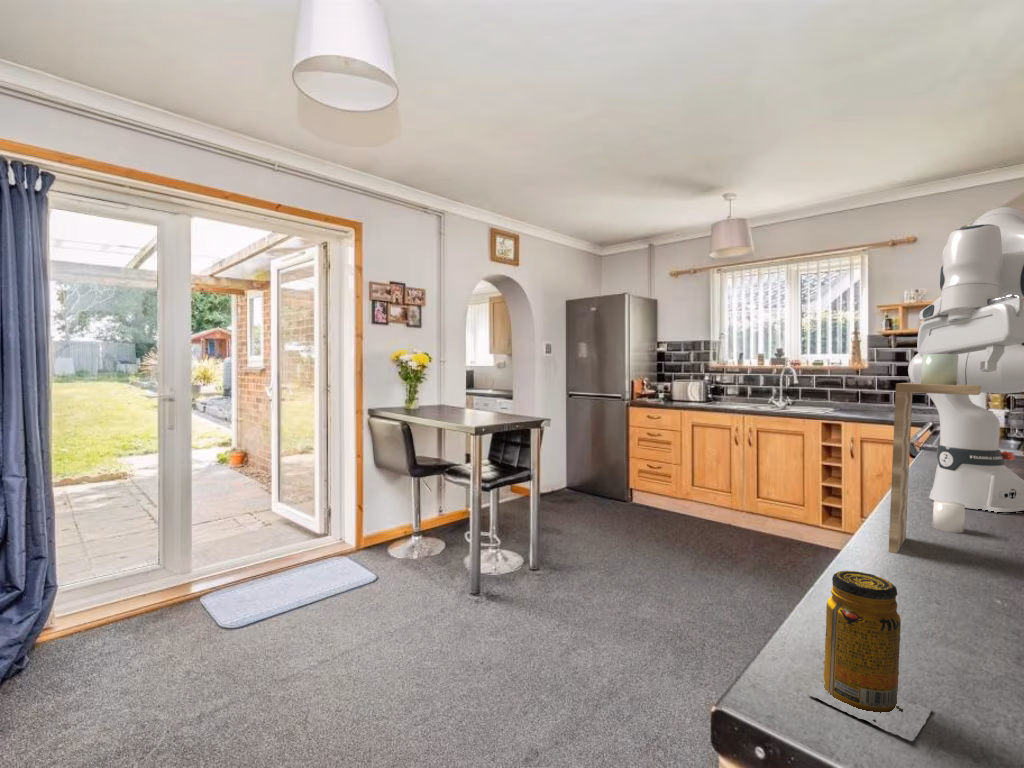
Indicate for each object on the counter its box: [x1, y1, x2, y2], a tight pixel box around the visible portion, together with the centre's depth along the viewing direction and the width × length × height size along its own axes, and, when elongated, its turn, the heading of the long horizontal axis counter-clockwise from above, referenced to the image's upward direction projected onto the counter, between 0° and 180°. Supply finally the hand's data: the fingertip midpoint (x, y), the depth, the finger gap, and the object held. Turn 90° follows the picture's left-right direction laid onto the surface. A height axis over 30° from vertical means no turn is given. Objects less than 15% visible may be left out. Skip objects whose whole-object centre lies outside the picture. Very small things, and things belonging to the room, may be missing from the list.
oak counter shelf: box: [888, 382, 982, 554], centre depth 93 cm, size 12×11×30 cm
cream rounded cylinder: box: [932, 500, 966, 534], centre depth 107 cm, size 5×5×5 cm
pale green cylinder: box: [921, 354, 959, 385], centre depth 92 cm, size 5×5×5 cm
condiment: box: [823, 570, 902, 713], centre depth 50 cm, size 7×8×12 cm
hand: (965, 374), depth 100 cm, fingers open, 8 cm apart
